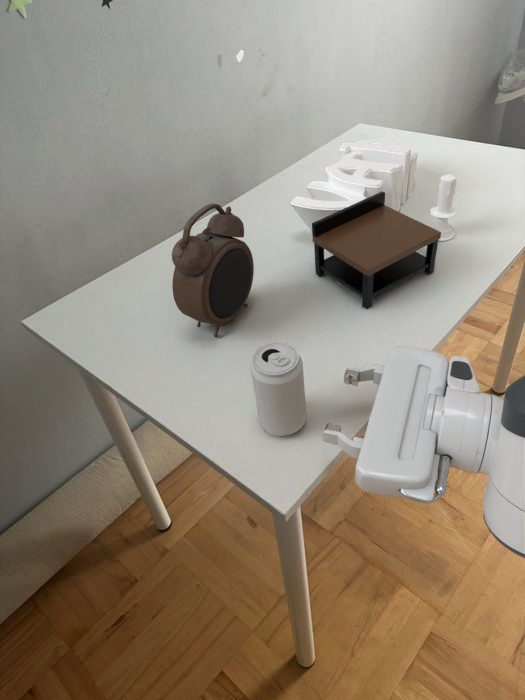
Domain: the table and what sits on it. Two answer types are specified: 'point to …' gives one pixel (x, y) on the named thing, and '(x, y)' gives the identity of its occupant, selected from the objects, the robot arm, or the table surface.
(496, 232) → the table surface
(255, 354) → the beverage can
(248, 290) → the alarm clock
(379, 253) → the miniature side table
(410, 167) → the wavy white extrusion
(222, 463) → the table surface
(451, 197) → the candle
